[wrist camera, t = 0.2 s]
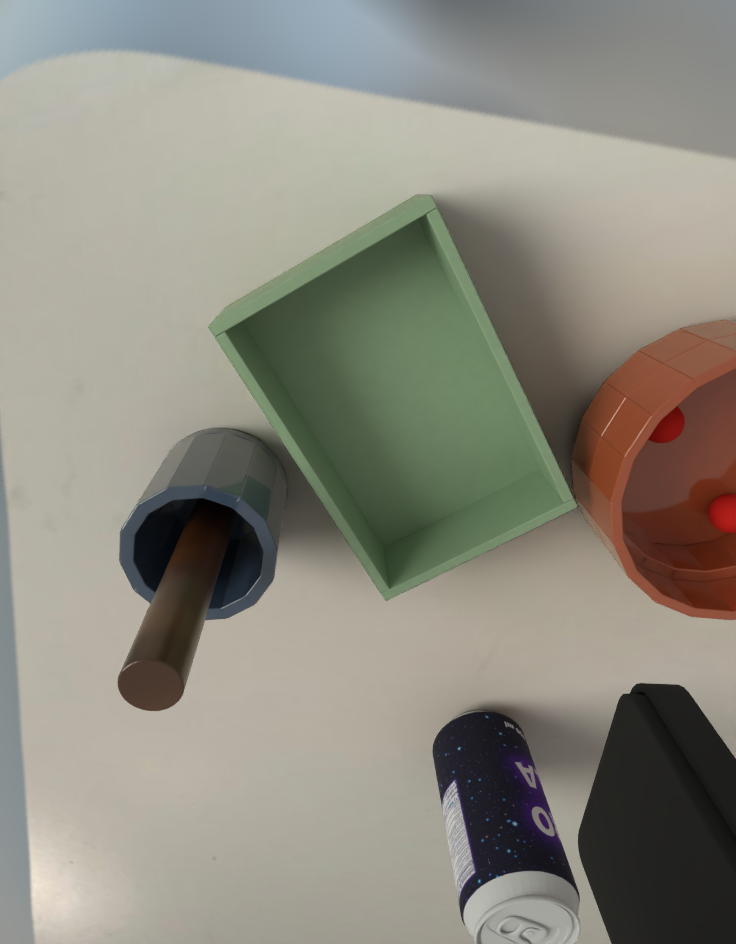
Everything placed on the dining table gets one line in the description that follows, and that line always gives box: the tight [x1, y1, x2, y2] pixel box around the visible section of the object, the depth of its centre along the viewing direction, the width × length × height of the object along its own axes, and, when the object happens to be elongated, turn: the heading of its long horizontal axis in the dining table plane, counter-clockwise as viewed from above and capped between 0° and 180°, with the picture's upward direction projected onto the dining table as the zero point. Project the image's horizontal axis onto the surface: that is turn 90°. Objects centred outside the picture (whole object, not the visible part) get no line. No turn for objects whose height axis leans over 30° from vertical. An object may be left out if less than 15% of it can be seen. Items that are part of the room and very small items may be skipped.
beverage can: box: [433, 710, 580, 944], centre depth 36 cm, size 6×6×12 cm
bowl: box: [571, 320, 736, 620], centre depth 31 cm, size 13×13×6 cm
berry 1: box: [648, 407, 685, 443], centre depth 32 cm, size 2×2×2 cm
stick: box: [118, 498, 237, 711], centre depth 27 cm, size 2×2×14 cm
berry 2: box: [708, 494, 736, 533], centre depth 34 cm, size 2×2×2 cm
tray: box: [208, 195, 578, 601], centre depth 30 cm, size 15×10×4 cm, turn 29°
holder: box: [119, 428, 287, 620], centre depth 31 cm, size 6×6×7 cm
